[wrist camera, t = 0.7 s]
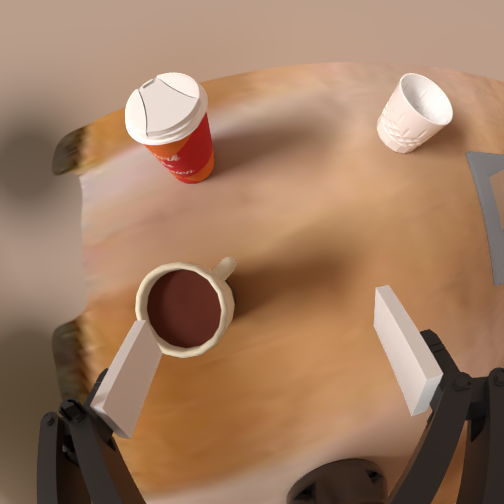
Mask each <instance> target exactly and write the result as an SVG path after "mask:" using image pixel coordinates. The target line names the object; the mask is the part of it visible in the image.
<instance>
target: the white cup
mask: <svg viewBox="0 0 504 504" xmlns="http://www.w3.org/2000/svg"><path fill="white" fill-rule="evenodd" d="M452 117H453V110H452V106H451V103H450V101H449V99H448V98H447V96H446V95H445V93H444V92H443V91H442V90H441V89H440V88H439V87H438V86H437V85H436V84H435V83H434V82H433V81H431V80H430V79H428V78H426V77H424V76H422V75H419V74H415V73H408V74H405V75H403V76H402V78H401V79H400V81H399V83H398V85H397V86H396V88H395V90H394V92H393V93H392V95H391V97H390V98H389V100H388V102H387V104H386V106H385V108H384V110H383V113H382V114H381V116H380V117H379V119H378V122H377V131H378V134H379V137H380V138H381V140H382V141H383V142H384V144H385V145H386V146H387V147H389V148H390V149H392V150H393V151H395V152H399V153H403V154H405V153H408V152H411V151H413V150H414V149H415V148H416V147H418V146H419V145H421V144H423V143H424V142H425V141H427V140H428V139H430V138H431V137H432V136H433V135H435V134H436V133H437V132H438V131H440V130H441V129H442V128H443V127H445V126H446V125H447V124H449V123H450V122H451V120H452Z"/></svg>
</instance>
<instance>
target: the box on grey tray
mask: <svg viewBox="0 0 504 504" xmlns="http://www.w3.org/2000/svg"><path fill="white" fill-rule="evenodd" d="M466 157H467V160H468V163H469V166H470V169H471V172H472V175H473V178H474V182H475V185H476V188H477V192H478V196H479V200H480V204H481V208H482V212H483V216H484V221H485V226H486V231H487V236H488V242H489V248H490V254H491V262H492V270H493V279H494V286H498V285H501V284H503V283H504V155H500V154H491V153H481V152H467V153H466Z"/></svg>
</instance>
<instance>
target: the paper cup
mask: <svg viewBox="0 0 504 504" xmlns="http://www.w3.org/2000/svg"><path fill="white" fill-rule="evenodd" d="M157 77H158V78H155V79H151V80H149V81H148V82H146V83H145V84H143V85H142V87H141V88H139V91H138V90H137V89H136V90H135V91H134V92H133V93H132V95H131V96H130V98H129V100H128V102H127V105H126V109H125V117H126V128H127V130H128V133H129V134H130V135H131V137H132V138H134V139H135V140H136V141H138V142H140V143H143V144H144V145H145V146H146V147H147V148H148V149H149V150H150V151H151V152H152V154H153V155H154V156H155V157H156V158H157V159H158V160H159V161H160V162H161V163H162V164H163V165H164V166H165V167H166V168H167V169H168V170H169V171H170V172H171V173H172V174H173V175H174V176H175V177H176V178H177V179H178V180H180V181H182V182H184V183H188V184H194V183H198V182H201V181H203V180H205V179H206V178H207V177H208V176H209V175H210V174H211V172H212V171H213V168H214V164H215V158H214V151H213V145H212V140H211V134H210V129H209V123H208V118H207V112H206V110H207V105H208V98H207V94H206V92H205V90H204V88H203V87H202V86H201V85H200V84H199V83H198V82H196V81H195V80H194V79H193V78H191V77H189V76H187V75H185V74H181V73H165V74H161V75H158V76H157Z"/></svg>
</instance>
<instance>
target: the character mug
mask: <svg viewBox="0 0 504 504" xmlns="http://www.w3.org/2000/svg"><path fill="white" fill-rule="evenodd" d="M236 266H237V262H236V260H235V259H234V257H231V256H228V257H225V258H223V259H222V260H221V261H220V263H219V264H218V265H217V266H216V267H215V268H214V269H213V270H210V269H208V268H206V267H204V266H202V265H199V264H196V263H192V262H174V263H169V264H164V265H161V266H159V267H157V268H156V269H154V270H152V271H151V272H150V273H149V274H148V275H147V276H146V277H145V278H144V280H143V281H142V283H141V285H140V287H139V290H138V292H137V297H136V309H135V311H136V315H137V319H138V321H139V320H146V321H147V323H148V325H149V327H150V329H151V331H152V333H153V335H154V337H155V339H156V341H157V343H158V345H159V347H160V349H161V351H162V352H163V353H164V354H167V355H172V356H176V357H180V358H186V357H192V356H198V355H201V354H203V353H204V352H206V351H207V350H209V349H210V348H212V347H213V346H215V345H216V344H217V343H218V341H219V340H220V338H221V337H222V335H223V334H224V332H225V331H226V329H227V328H228V326H229V324H230V323H231V321H232V319H233V312H234V308H235V304H236V302H235V296H234V291H233V289H232V288H231V286H230V285H229V283H228V282H227V281H226V279H227V278H228V277H229V276H230V275H231V273H232V272H233V271H234V270H235V269H236Z"/></svg>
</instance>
